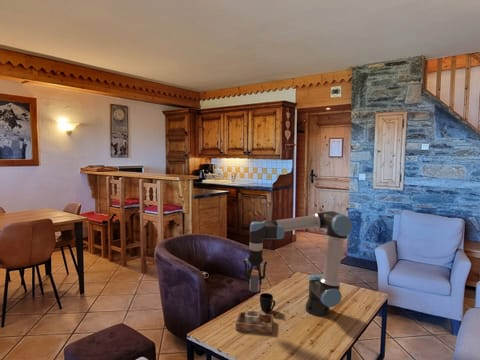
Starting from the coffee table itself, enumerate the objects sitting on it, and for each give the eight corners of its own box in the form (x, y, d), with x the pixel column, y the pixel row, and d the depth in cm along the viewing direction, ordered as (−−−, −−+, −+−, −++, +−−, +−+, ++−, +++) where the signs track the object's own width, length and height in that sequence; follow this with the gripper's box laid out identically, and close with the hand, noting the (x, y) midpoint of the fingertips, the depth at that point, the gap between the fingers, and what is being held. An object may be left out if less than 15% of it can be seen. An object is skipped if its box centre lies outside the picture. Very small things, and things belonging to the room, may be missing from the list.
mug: (268, 317, 197) (269, 301, 196) (256, 309, 207) (257, 294, 206) (279, 313, 201) (279, 298, 201) (266, 306, 211) (267, 291, 211)
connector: (258, 289, 187) (258, 270, 186) (257, 292, 183) (258, 273, 182) (251, 288, 187) (252, 270, 186) (250, 291, 183) (251, 272, 183)
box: (273, 321, 192) (273, 309, 191) (271, 334, 178) (271, 321, 177) (239, 318, 195) (239, 306, 194) (235, 330, 181) (235, 317, 181)
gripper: (271, 248, 186) (269, 288, 187) (241, 246, 188) (240, 285, 190) (270, 252, 178) (268, 293, 180) (239, 250, 181) (238, 291, 183)
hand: (254, 289), depth 185 cm, fingers closed on connector, 4 cm apart
